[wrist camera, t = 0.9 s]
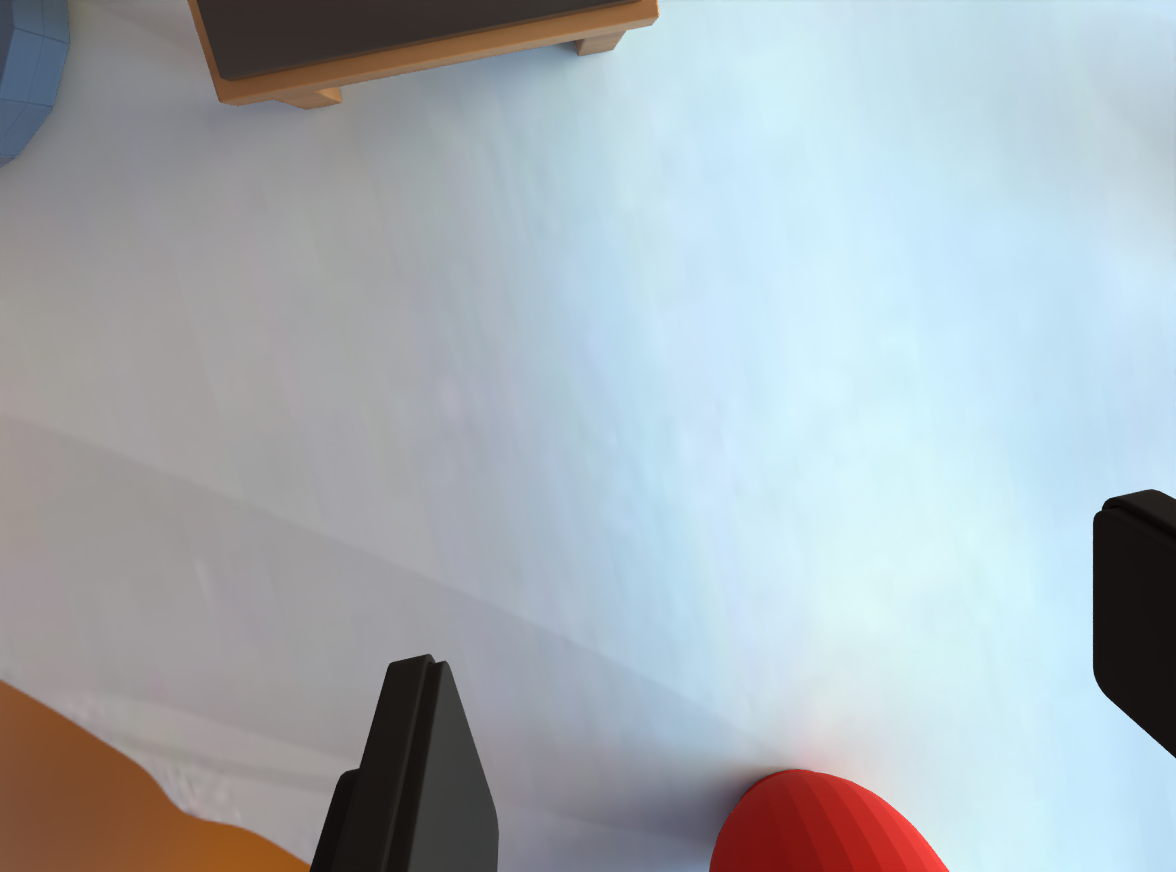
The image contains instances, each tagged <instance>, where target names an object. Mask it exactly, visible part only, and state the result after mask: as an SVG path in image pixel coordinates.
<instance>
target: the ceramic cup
mask: <svg viewBox="0 0 1176 872" xmlns="http://www.w3.org/2000/svg"><path fill="white" fill-rule="evenodd" d="M709 872H949V870H948V869H947V868H946V866H945V865H944V863H943V862H942V861H941V859H940V858H939V857H938V855H937V854H936V853H935V851H934V850H933V849H932V847H931V846H930V845H929V844H928V842H927V841H926V840H925V839H924V837H923V836H922V835H921V834H920V833H919V832H918V831H917V829H916V828H915V827H914V826H913V825H912V824H911V823H910V822H909V821H908V820H907V819H906V818H905V817H903V816H902V815H901V814H900V813H899V812H898V811H897V810H895V809H894V808H893V807H892V806H891V805H889V804H888V803H887V802H886V801H884V800H883V799H882V798H881V797H879V796H878V795H876V794H874V793H873V792H871V791H869V790H867V789H865V788H863V787H861V786H859V785H857V784H855V783H853V782H851V781H849V780H846V779H843V778H839V777H836V776H832V775H829V774H824V773H816V772H813V771H809V770H800V769H796V770H786V771H781V772H777V773H774V774H772V775H769V776H767V777H765V778H763V779H762V780H760V781H758V782H757V783H755V784H754V785H753V786H752V787H751V788H749V789H748V790H747V792H746V793H745V794H744V795H743V796H742V798H741V800H740V802H739V803H738V804H737V805H736V806H735V808H734V809H733V810H732V812H731V813H730V815H729V816H728V818H727V820H726V822H725V824H724V825H723V827H722V829H721V831H720V833H719V836H718V838H717V841H716V845H715V848H714V851H713V855H712V859H711V863H710V869H709Z"/></svg>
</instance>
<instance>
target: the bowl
mask: <svg viewBox="0 0 1176 872" xmlns="http://www.w3.org/2000/svg"><path fill="white" fill-rule="evenodd" d="M69 43H70V37H69V22H68V7H67V0H0V167H2V166H3V165H5V164H7V163H8V162H10V161H12V160H13V159H15V158H16V157H17V156H18V155H19V154H20V153H21V151H22V150H23V149H24V147H25V146H26V144H27V143H28V142H29V140H30V139H31V138H32V136H33V135H34V133H35V132H36V131H37V129H38V128H39V126H40V125H41V124H42V122H43V121H44V119H45V118H46V117H47V115H48V114H49V112H50V111H51V110H52V106H53V105H54V102H55V98H56V94H57V91H58V87H59V83H60V79H61V75H62V71H63V68H64V64H65V60H66V56H67V52H68V48H69Z"/></svg>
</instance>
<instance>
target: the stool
mask: <svg viewBox="0 0 1176 872" xmlns="http://www.w3.org/2000/svg"><path fill="white" fill-rule="evenodd" d="M187 1H188V4H189V7H190V10H191V13H192V16H193V20H194V23H195V26H196V29H197V32H198V36H199V39H200V42H201V45H202V48H203V51H204V55H205V58H206V61H207V64H208V67H209V70H210V74H211V77H212V80H213V83H214V86H215V90H216V93H217V96H218V99H219V101H220V102H221V103H225V104H230V105H234V106H242V105H247V104H252V103H257V102H262V101H267V100H272V99H274V100H277V101H280V102H283V103H287V104H290V105H293V106H296V107H299V108H303V109H306V110H308V109H313V108H318V107H323V106H328V105H334V104H339V103H341V102H342V99H341V95H340V91H339V88H338V87H339V86H344V85H349V84H354V83H359V82H364V81H369V80H375V79H380V78H385V77H390V76H395V75H400V74H405V73H410V72H416V71H421V70H426V69H431V68H436V67H441V66H446V65H451V64H456V63H462V62H467V61H472V60H477V59H482V58H487V57H492V56H497V55H503V54H508V53H513V52H518V51H523V50H528V49H533V48H538V47H543V46H549V45H554V44H559V43H564V42H569V41H575V46H576V52H577V55H578V56H584V55H589V54H594V53H599V52H604V51H609V50H613V49H614V48H615V47H616V45H617V44H618V42H619V41H620V39H621V38H622V36H623V35H624V33H625V32H626V30H630V29H636V28H641V27H646V26H651V25H652V24H653V23H654V22H655V21H656V20H657V18H658V17H659V8H658V1H657V0H187Z"/></svg>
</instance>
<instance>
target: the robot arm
mask: <svg viewBox="0 0 1176 872" xmlns="http://www.w3.org/2000/svg"><path fill="white" fill-rule="evenodd" d="M1093 671H1094V676H1095V679H1096V681H1097V683H1098V686H1099V687H1100V689H1101V690H1102V692H1103V693H1104V694H1105V695H1106V696H1107V697H1108V698H1109V699H1110V700H1111V701H1112V702H1113V703H1114V704H1116V705H1117V706H1118V707H1119V708H1120V709H1121V710H1122V711H1123V712H1124V713H1126V714H1127V715H1128V716H1129V717H1130V718H1131V719H1132V720H1133V721H1135V722H1136V723H1137V724H1138V725H1139V726H1140V727H1141V728H1142V729H1144V730H1145V731H1146V732H1147V733H1148V734H1149V735H1150V736H1151V737H1152V738H1154V739H1155V740H1156V741H1157V742H1158V743H1159V744H1160V745H1161V746H1163V747H1164V748H1165V749H1166V750H1167V751H1168V752H1169V753H1170V754H1171V755H1173V756H1174V757H1175V758H1176V499H1174V498H1172V497H1170V496H1168V495H1166V494H1164V493H1162V492H1160V491H1157V490H1154V489H1150V490H1144V491H1139V492H1135V493H1131V494H1126V495H1122V496H1117V497H1113V498H1109V499H1108V500H1107V501H1105V503H1104V505H1103V507H1102V511H1099V512H1098V513H1096V515H1095V517H1094V521H1093ZM498 840H499V830H498V820H497V814H496V810H495V806H494V803H493V800H492V796H491V793H490V790H489V787H488V784H487V781H486V778H485V775H484V772H483V768H482V765H481V762H480V759H479V756H478V753H477V750H476V747H475V744H474V740H473V737H472V734H471V731H470V728H469V725H468V722H467V719H466V716H465V712H464V709H463V706H462V703H461V700H460V697H459V694H458V691H457V688H456V684H455V681H454V678H453V675H452V672H451V669H450V666H449V664H448V663H447V662H446V661H442V662H438V663H435V660H434V659H433V657H432V655H430V654H426V655H422V656H417V657H413V658H409V659H404V660H400V661H395V662H392V663H390V664H389V666H388V668H387V672H386V676H385V679H384V683H383V686H382V690H381V693H380V697H379V700H378V704H377V707H376V711H375V715H374V718H373V722H372V725H371V729H370V732H369V736H368V739H367V743H366V746H365V750H364V754H363V757H362V761H361V764H360V768H359V769H355V770H350V771H346V772H345V773H343V774H342V775H341V776H340V778H339V781H338V783H337V785H336V788H335V791H334V794H333V798H332V801H331V804H330V807H329V811H328V814H327V817H326V820H325V823H324V827H323V830H322V833H321V836H320V839H319V843H318V846H317V849H316V852H315V855H314V859H313V862H312V865H311V868H310V872H497V864H498Z"/></svg>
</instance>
